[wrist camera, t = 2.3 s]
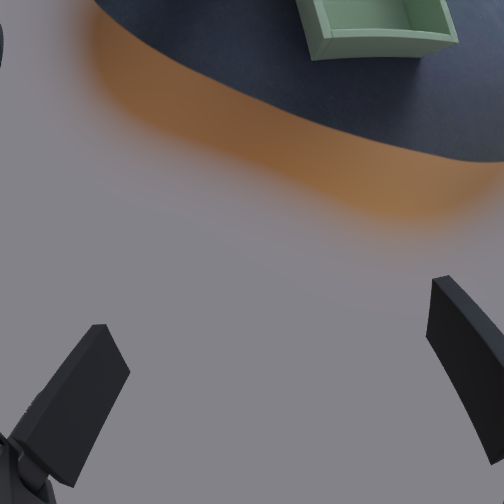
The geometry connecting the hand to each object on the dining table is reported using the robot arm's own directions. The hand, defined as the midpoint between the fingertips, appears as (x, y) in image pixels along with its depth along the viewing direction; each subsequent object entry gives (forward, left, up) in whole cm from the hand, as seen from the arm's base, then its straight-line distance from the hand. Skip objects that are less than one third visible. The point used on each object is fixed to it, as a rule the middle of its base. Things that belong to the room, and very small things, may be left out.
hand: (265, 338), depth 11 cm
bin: (+14, +26, -25) cm, 38 cm away
